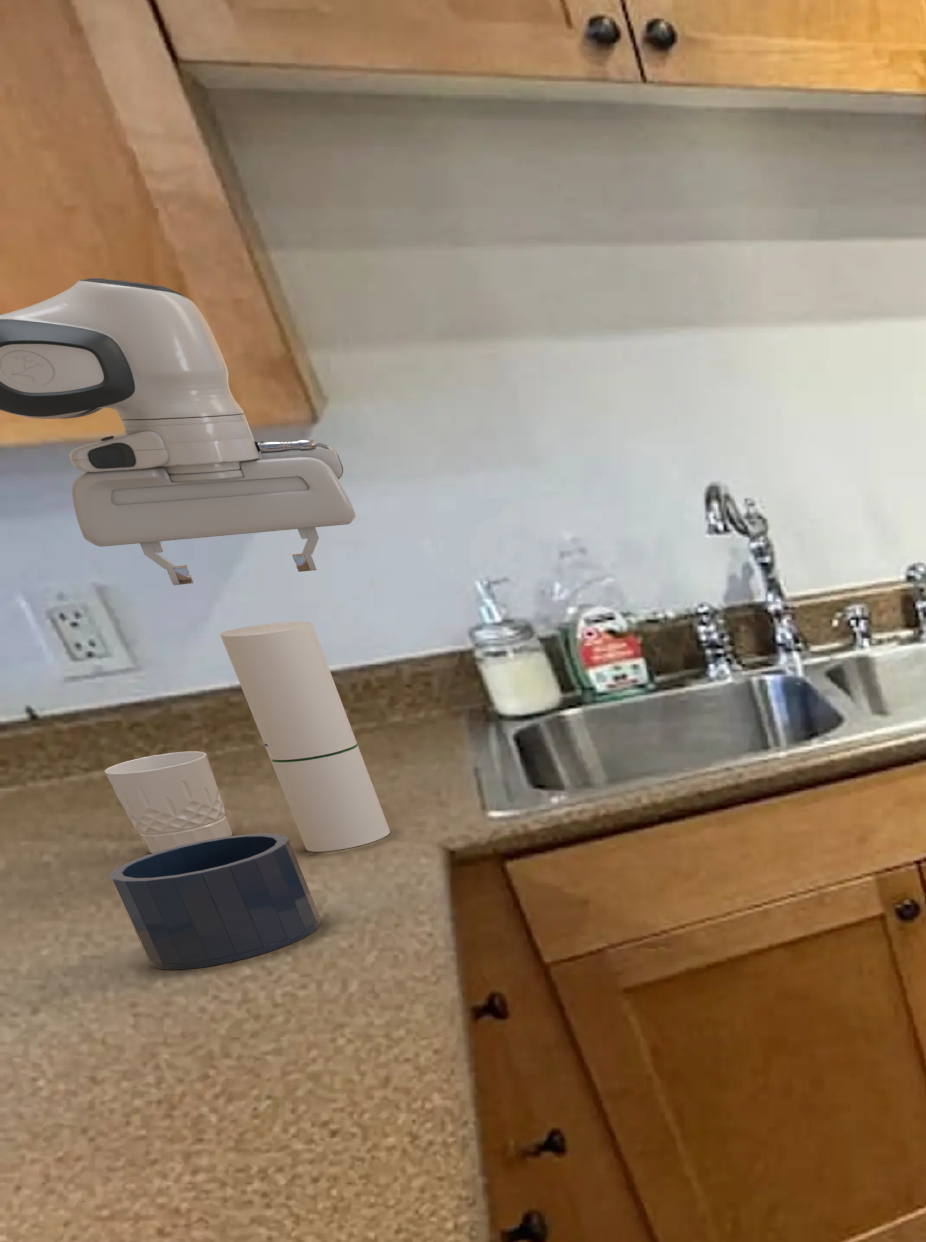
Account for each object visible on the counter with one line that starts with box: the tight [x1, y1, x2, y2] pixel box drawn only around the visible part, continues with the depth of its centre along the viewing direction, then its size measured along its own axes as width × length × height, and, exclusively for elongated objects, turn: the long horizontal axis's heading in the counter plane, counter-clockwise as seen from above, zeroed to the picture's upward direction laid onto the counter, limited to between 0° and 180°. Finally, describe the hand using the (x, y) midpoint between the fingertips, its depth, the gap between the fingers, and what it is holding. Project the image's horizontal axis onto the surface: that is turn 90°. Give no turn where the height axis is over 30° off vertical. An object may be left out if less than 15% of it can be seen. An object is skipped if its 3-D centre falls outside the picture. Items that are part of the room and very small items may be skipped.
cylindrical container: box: [219, 621, 391, 853], centre depth 147 cm, size 7×7×25 cm
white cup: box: [103, 750, 233, 854], centre depth 150 cm, size 8×8×10 cm
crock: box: [109, 833, 322, 971], centre depth 125 cm, size 12×12×9 cm
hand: (246, 577), depth 141 cm, fingers open, 8 cm apart
